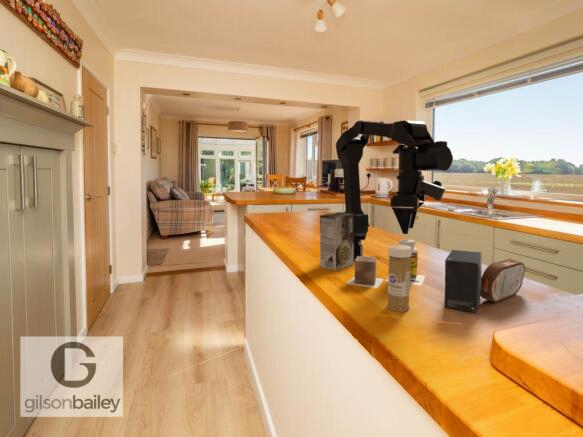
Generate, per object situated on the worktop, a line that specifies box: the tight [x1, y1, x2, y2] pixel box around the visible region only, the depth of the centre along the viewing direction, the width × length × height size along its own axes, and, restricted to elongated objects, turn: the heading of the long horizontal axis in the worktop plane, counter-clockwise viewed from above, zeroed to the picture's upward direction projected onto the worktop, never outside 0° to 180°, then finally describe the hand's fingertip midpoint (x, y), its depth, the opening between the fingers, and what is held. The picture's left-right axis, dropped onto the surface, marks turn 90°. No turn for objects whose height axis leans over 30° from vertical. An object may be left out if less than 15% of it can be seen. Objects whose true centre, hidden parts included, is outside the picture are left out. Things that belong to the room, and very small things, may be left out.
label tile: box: [384, 274, 426, 287], centre depth 91 cm, size 9×9×1 cm
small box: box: [443, 249, 483, 313], centre depth 74 cm, size 11×6×10 cm, turn 148°
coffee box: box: [319, 211, 355, 272], centre depth 103 cm, size 9×6×16 cm
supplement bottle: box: [398, 239, 419, 281], centre depth 90 cm, size 6×6×10 cm
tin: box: [480, 258, 526, 303], centre depth 76 cm, size 15×3×8 cm, turn 123°
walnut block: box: [354, 256, 377, 285], centre depth 89 cm, size 5×5×6 cm
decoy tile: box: [345, 275, 385, 289], centre depth 89 cm, size 8×8×1 cm
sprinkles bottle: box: [386, 244, 411, 313], centre depth 71 cm, size 5×5×13 cm
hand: (408, 230), depth 90 cm, fingers open, 9 cm apart
